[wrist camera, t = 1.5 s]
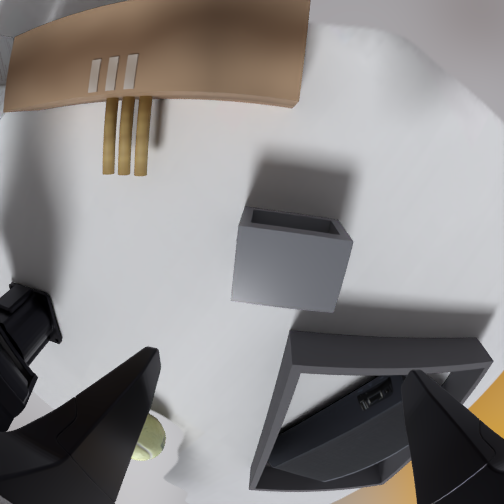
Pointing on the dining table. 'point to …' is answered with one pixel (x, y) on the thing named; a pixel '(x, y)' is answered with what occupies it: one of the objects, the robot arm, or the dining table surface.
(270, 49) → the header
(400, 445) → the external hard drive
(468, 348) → the bumper frame
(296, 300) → the box
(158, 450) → the tennis ball
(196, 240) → the dining table surface
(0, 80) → the supplement box
